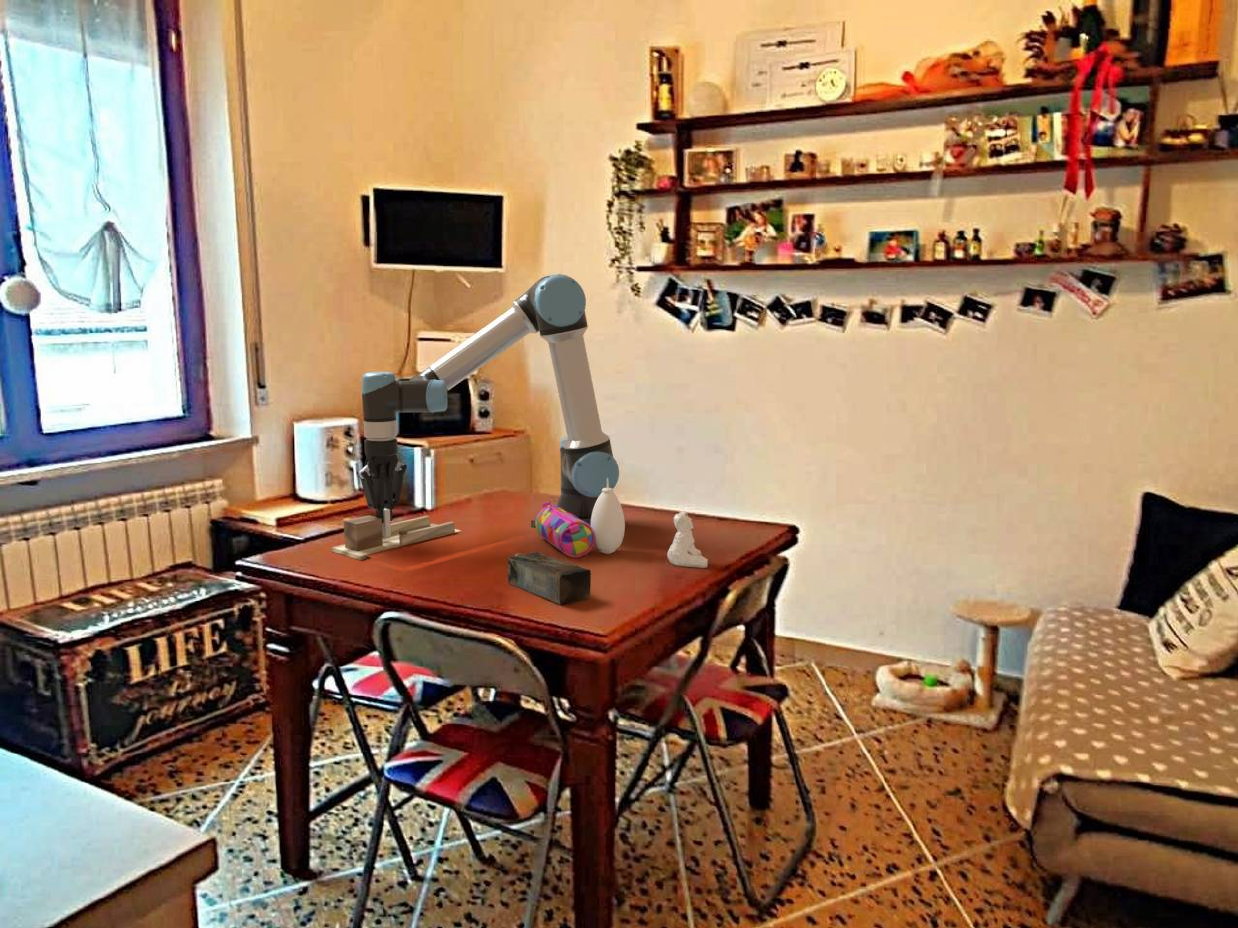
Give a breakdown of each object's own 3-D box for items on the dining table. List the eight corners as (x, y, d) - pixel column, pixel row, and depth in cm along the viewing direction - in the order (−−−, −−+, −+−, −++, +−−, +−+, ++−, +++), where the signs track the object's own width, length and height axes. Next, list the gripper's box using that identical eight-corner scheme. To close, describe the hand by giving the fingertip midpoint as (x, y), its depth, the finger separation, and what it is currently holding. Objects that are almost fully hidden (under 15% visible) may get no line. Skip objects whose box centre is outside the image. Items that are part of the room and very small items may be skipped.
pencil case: (529, 538, 235) (529, 503, 233) (565, 535, 238) (564, 500, 237) (560, 561, 215) (560, 523, 213) (598, 557, 219) (598, 519, 217)
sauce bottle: (605, 546, 227) (604, 472, 224) (631, 552, 222) (631, 476, 219) (584, 553, 221) (583, 477, 218) (610, 559, 216) (610, 482, 213)
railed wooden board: (461, 534, 238) (461, 518, 237) (360, 560, 215) (359, 542, 214) (432, 527, 245) (432, 511, 244) (331, 551, 222) (330, 534, 222)
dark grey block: (537, 576, 204) (537, 547, 203) (593, 599, 189) (593, 567, 188) (506, 584, 199) (506, 553, 198) (561, 607, 184) (560, 575, 183)
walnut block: (382, 545, 224) (381, 518, 223) (357, 551, 219) (356, 524, 218) (370, 541, 227) (368, 515, 226) (345, 547, 222) (343, 520, 221)
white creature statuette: (709, 568, 210) (711, 515, 207) (671, 570, 208) (672, 517, 206) (699, 556, 219) (700, 506, 217) (662, 558, 217) (663, 507, 215)
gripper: (393, 433, 230) (397, 527, 234) (347, 439, 220) (352, 538, 224) (413, 436, 225) (416, 532, 229) (366, 443, 215) (371, 543, 220)
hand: (385, 535), depth 227 cm, fingers closed
